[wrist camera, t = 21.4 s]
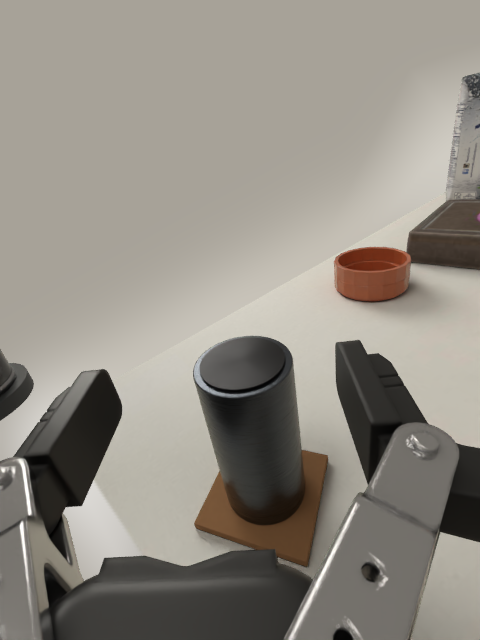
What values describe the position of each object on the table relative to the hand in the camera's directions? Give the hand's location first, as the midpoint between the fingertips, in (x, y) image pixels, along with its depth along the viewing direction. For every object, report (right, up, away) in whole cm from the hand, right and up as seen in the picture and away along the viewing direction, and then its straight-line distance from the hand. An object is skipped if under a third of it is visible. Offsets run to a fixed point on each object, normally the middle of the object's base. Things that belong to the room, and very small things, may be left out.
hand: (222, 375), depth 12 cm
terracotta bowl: (+20, +7, +38) cm, 43 cm away
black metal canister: (+2, -10, +12) cm, 16 cm away
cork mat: (+2, -11, +12) cm, 17 cm away
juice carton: (+55, +29, +67) cm, 91 cm away
